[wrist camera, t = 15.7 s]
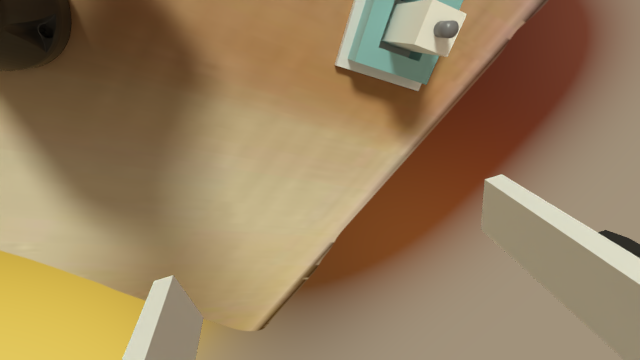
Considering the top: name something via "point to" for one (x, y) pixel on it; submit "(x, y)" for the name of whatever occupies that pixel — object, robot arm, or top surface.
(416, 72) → the socket
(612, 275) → the robot arm
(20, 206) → the top surface
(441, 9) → the plug
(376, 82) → the top surface
